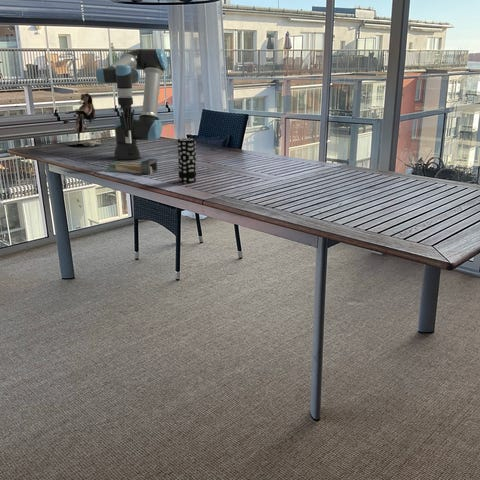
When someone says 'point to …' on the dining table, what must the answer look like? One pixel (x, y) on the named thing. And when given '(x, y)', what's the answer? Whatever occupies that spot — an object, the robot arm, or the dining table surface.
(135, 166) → the bar
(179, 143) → the white-spotted black cylinder
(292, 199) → the dining table surface
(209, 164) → the dining table surface
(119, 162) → the tongs jaw
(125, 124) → the robot arm
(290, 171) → the dining table surface
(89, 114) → the figurine
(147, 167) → the collar
